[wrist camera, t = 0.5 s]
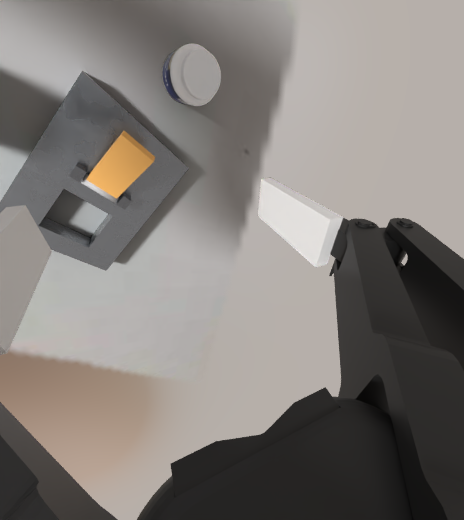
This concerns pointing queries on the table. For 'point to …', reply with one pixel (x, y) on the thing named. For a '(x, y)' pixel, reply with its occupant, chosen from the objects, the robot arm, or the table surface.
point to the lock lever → (119, 167)
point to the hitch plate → (83, 162)
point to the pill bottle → (191, 75)
